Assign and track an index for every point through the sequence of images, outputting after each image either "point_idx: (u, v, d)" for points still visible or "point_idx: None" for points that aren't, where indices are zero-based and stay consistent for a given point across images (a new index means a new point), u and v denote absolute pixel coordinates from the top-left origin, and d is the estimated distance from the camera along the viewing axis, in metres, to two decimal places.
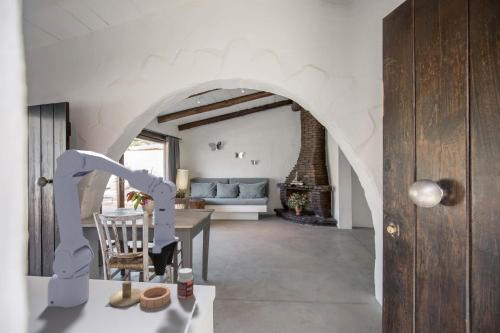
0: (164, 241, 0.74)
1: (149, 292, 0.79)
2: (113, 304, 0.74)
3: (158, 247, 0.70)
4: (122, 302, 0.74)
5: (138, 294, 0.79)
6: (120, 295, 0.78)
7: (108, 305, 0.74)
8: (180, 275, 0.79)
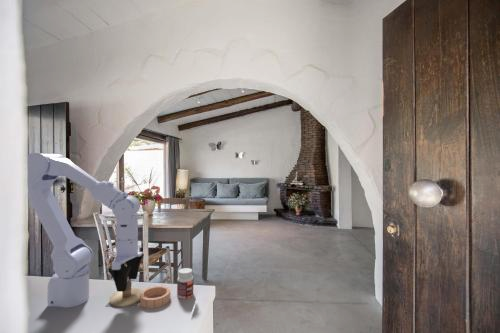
0: (125, 257, 0.75)
1: (149, 292, 0.79)
2: (113, 304, 0.74)
3: (117, 264, 0.71)
4: (122, 302, 0.74)
5: (138, 294, 0.79)
6: (120, 295, 0.78)
7: (108, 305, 0.74)
8: (180, 275, 0.79)
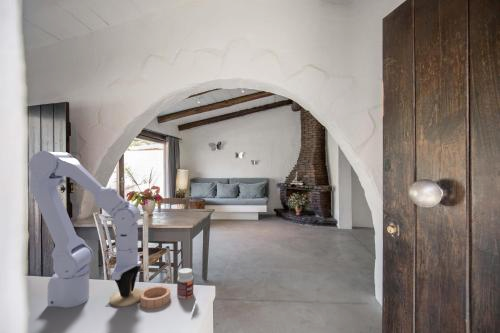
0: (125, 266, 0.75)
1: (149, 292, 0.79)
2: (113, 304, 0.74)
3: (117, 274, 0.71)
4: (122, 302, 0.74)
5: (138, 294, 0.79)
6: (120, 295, 0.78)
7: (108, 305, 0.74)
8: (180, 275, 0.79)
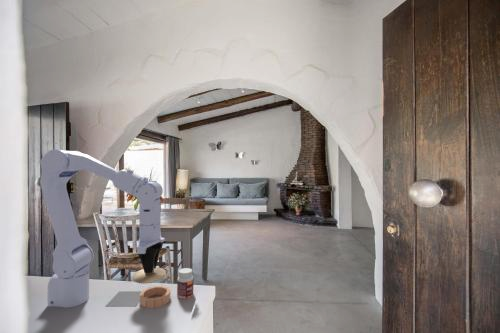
0: (149, 242, 0.74)
1: (149, 292, 0.79)
2: (137, 281, 0.73)
3: (142, 248, 0.70)
4: (146, 279, 0.74)
5: (161, 272, 0.78)
6: (143, 273, 0.77)
7: (108, 305, 0.74)
8: (180, 275, 0.79)
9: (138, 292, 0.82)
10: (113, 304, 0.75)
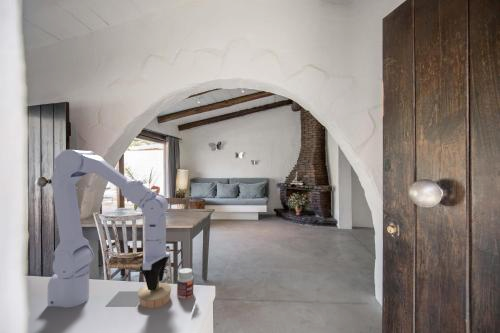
0: (155, 257, 0.74)
1: None
2: (142, 298, 0.73)
3: (148, 264, 0.70)
4: (151, 296, 0.73)
5: (166, 288, 0.78)
6: None
7: (108, 305, 0.74)
8: (180, 275, 0.79)
9: None
10: (113, 304, 0.75)
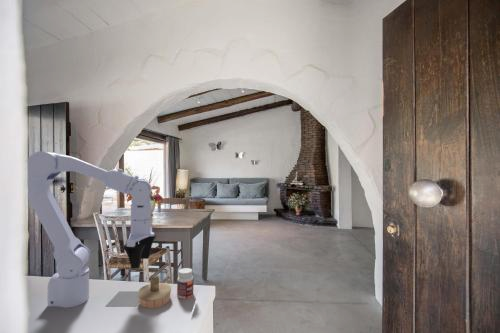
0: (139, 236, 0.79)
1: None
2: (142, 298, 0.73)
3: (132, 241, 0.75)
4: (151, 296, 0.73)
5: (166, 288, 0.78)
6: (148, 289, 0.77)
7: (108, 305, 0.74)
8: (180, 275, 0.79)
9: None
10: (113, 304, 0.75)
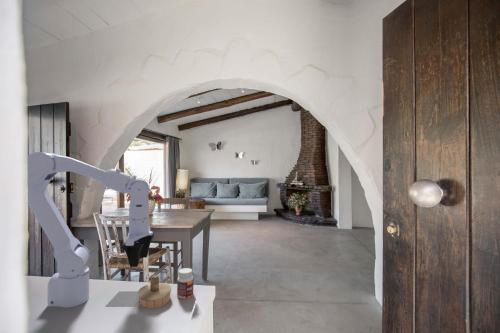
0: (138, 235, 0.80)
1: None
2: (142, 298, 0.73)
3: (131, 240, 0.75)
4: (151, 296, 0.73)
5: (166, 288, 0.78)
6: (148, 289, 0.77)
7: (108, 305, 0.74)
8: (180, 275, 0.79)
9: None
10: (113, 304, 0.75)
